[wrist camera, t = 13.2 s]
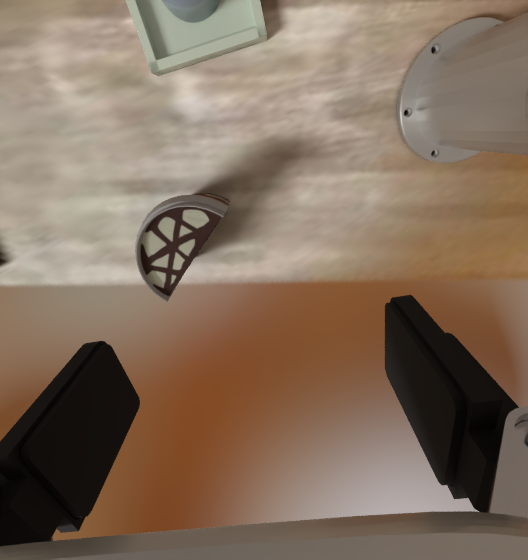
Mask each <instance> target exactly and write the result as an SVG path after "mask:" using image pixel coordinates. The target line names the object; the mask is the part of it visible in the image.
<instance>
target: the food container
mask: <svg viewBox="0 0 528 560" xmlns="http://www.w3.org/2000/svg"><path fill="white" fill-rule="evenodd" d="M229 203H230V201H228V200H226V199H225V198H223V197H221V196H217V195H213V194H209V193H208V194H196V195H183V196H177V197H174V198H170V199H168V200H166V201H164V202H162V203H160V204H159V205H157V206H156V207H155V208H154V209H153V210H152V211H151V212H150V213H149V214H148V215H147V217H146V218H145V220H144V221H143V223H142V226H141V228H140V230H139V233H138V235H137V240H136V250H135V252H136V260H137V265H138V268H139V272H140V274H141V276H142V278H143V280H144V281H145V282H146V284H147V285H148V287H149V288H150V289H151V290H152V291H153V292H154V293H155V294H156V295H157V296H159V297H160V298H161V299H163V300H164V301H166V302H167V301H168V300H169V298H170V296H171V295H172V293H173V291H174V289H175V288H176V286H177V284H178V283H179V281H180V279H181V278H182V276H183V274H184V273H185V271H186V270H187V269H188V267H189V266H190V264H191V262H192V261H193V259H194V258H195V256H196V255H197V254H198V251H199V250H200V249H201V247H202V246H203V244H204V243H205V241H206V240H207V239H208V237H209V236H210V234H211V232H212V231H213V229H214V228H215V227H216V225H217V223H218V222H219V220H220V218H221V217H224V215H225V214H226V212H227V210H228V208H229V206H228V205H229Z"/></svg>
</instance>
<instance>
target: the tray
mask: <svg viewBox="0 0 528 560" xmlns="http://www.w3.org/2000/svg"><path fill="white" fill-rule="evenodd" d="M126 2H127V5H128V8H129V11H130V13H131V16H132V19H133V22H134V25H135V27H136V30H137V33H138V36H139V39H140V42H141V44H142V47H143V50H144V53H145V56H146V58H147V61H148V64H149V67H150V70H151V72H152V73H153V74H155V75H157V76H160V75H163V74H166V73H169V72H172V71H175V70H178V69H181V68H184V67H187V66H190V65H193V64H196V63H199V62H202V61H205V60H208V59H211V58H215V57H218V56H221V55H224V54H227V53H230V52H233V51H236V50H239V49H242V48H245V47H248V46H251V45H254V44H257V43H260V42H263V41H267V32H266V27H265V22H264V17H263V12H262V7H261V2H260V0H220V2H219V4H218V6H217V8H216V10H215V11H214V12H213V14H212V15H211V16H210V17H208V18H207V19H205V20H203V21H201V22H197V23H189V22H185V21H183V20H180V19H179V18H177V17H176V16H174V15H173V14H172V13H171V12H170V11H169V10H168V8H167V7H166V6H165V5H164V3H163V2H162V1H161V0H126Z"/></svg>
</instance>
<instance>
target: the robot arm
mask: <svg viewBox="0 0 528 560" xmlns="http://www.w3.org/2000/svg"><path fill="white" fill-rule="evenodd" d="M431 48H433V50H434V51H433V53H432V52H431ZM405 110H406V111H407V113H406V115H404V111H405ZM397 121H398V126H399V130H400V133H401V135H402V138H403V140H404V142H405V143H406V144H407V146H408V147H409V149H411V150H412V151H413V152H414V153H415V154H416V155H418V156H420V157H422V158H423V159H425V160H429V161H433V162H439V163H453V162H458V161H462V160H466V159H468V158H470V157H473V156H475V155H477V154H479V153H480V152H482V151H487V152H497V153H507V154H517V155H527V156H528V12H526V13H524V14H522V15H519V16H517V17H515V18H513V19H511V20H508V21H506V22H505V21H502V20H499V19H496V18H491V17H477V18H472V19H467V20H464V21H462V22H460V23H457V24H455V25H453V26H451V27H449V28H447V29H446V30H444V31H442V32H441V33H440V34H438V35H437V36H436V37H434V38H433V39H432V40H431V41H429V43H428V44H427V45H426V46H425V47H424V48H423V49H422V50H421V51H420V52H419V53H418V55H417V56H416V58H415V59H414V61H413V62H412V64H411V65H410V67H409V69H408V71H407V73H406V75H405V77H404V79H403V82H402V85H401V88H400V91H399V97H398V103H397ZM432 151H433V154H432V155H431V153H432ZM385 370H386V374H387V377H388V379H389V381H390V383H391V385H392V387H393V389H394V391H395V393H396V395H397V398H398V400H399V402H400V404H401V406H402V408H403V410H404V412H405V414H406V416H407V418H408V420H409V422H410V424H411V426H412V428H413V430H414V433H415V435H416V437H417V438H418V441H419V443H420V445H421V447H422V449H423V451H424V453H425V455H426V457H427V459H428V461H429V464H430V465H431V468H432V470H433V472H434V474H435V476H436V478H437V479H438V481H439V483H440V484H441V485H447V486H448V488H449V490H450V491H451V493H452V495H453V498H454V499H461V498H469V500H470V502H471V503H472V505H473V507H474V508H475V509H476V510H478V511H479V512H421V513H403V514H387V515H386V514H385V515H368V516H352V517H340V518H326V519H313V520H300V521H287V522H275V523H261V524H249V525H237V526H223V527H212V528H200V529H187V530H175V531H163V532H151V533H139V534H127V535H116V536H106V537H105V536H104V537H93V538H82V539H70V540H59V541H53V538H52V536H53V534H54V532H55V530H56V528H57V529H58V530H59V531H60V532H73V531H79V529H80V527H81V525H82V523H83V521H84V519H85V517H86V516H88V515H89V514H90V512H91V511H92V509H93V507H94V504H95V502H96V500H97V498H98V496H99V494H100V491H101V489H102V487H103V485H104V483H105V480H106V478H107V476H108V474H109V472H110V470H111V467H112V465H113V463H114V461H115V459H116V457H117V455H118V452H119V450H120V448H121V445H122V444H123V441H124V439H125V437H126V435H127V433H128V431H129V429H130V426H131V424H132V422H133V420H134V418H135V416H136V413H137V411H138V409H139V405H140V400H139V397H138V395H137V393H136V391H135V389H134V387H133V385H132V384H131V382H130V380H129V378H128V376H127V375H126V372H125V371H124V369H123V367H122V365H121V363H120V361H119V360H118V358H117V356H116V354H115V352H114V350H113V348H112V347H111V346H110V345H108V344H107V343H106V342H104V341H98V342H91V343H86V344H84V345H83V346H82V347H81V348H80V349H79V350H78V351H77V353H76V354H75V355H74V356H73V357H72V359H71V360H70V361H69V362H68V363H67V364H66V365H65V367H64V368H63V369H62V370H61V371H60V372H59V374H58V375H57V376H56V377H55V378H54V379H53V381H52V382H51V383H50V384H49V385H48V387H47V388H46V389H45V390H44V391H43V392H42V394H41V395H40V396H39V397H38V398H37V399H36V400H35V402H34V403H33V404H32V405H31V406H30V407H29V409H28V410H27V411H26V412H25V413H24V414H23V416H22V417H21V418H20V419H19V420H18V422H17V423H16V424H15V425H14V426H13V427H12V428H11V430H10V431H9V432H8V433H7V434H6V436H5V437H4V438H3V439H2V440H1V441H0V560H528V407H527V406H526V407H521V408H519V407H518V406H517V405H516V403H515V402H514V401H513V400H512V399H511V398H510V397H509V396H508V395H507V394H506V392H505V391H504V390H503V389H502V388H501V387H500V386H499V385H498V384H497V383H496V381H495V380H494V379H493V378H492V377H491V376H490V375H489V374H488V373H487V371H486V370H485V369H484V368H483V367H482V366H481V365H480V364H479V363H478V362H477V360H476V359H475V358H474V357H473V356H472V355H471V354H470V353H469V352H468V351H467V349H466V348H465V347H464V346H463V345H462V344H461V343H460V342H459V341H458V339H457V338H455V336H453V335H452V334H450V333H444V331H443V330H442V329H441V328H440V327H439V326H438V325H437V323H436V322H435V321H434V320H433V319H432V318H431V317H430V316H429V314H428V313H427V312H426V311H425V310H424V309H423V307H422V306H421V305H420V304H419V303H418V302H417V301H416V299H415V298H414V297H413V296H411V295H407V296H400V297H393V298H391V301H390V303H386V305H385Z"/></svg>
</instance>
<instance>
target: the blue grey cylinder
mask: <svg viewBox="0 0 528 560" xmlns="http://www.w3.org/2000/svg"><path fill="white" fill-rule="evenodd" d="M161 1H162V2H163V3H164V5H165V6H166V7H167V8H168V10H169V11H170V12H171V13H172V14H173V15H174V16H176V17H177V18H179V19H180V20H183V21H185V22H189V23H197V22H201V21H203V20H205V19H207V18H208V17H210V16H211V15H212V14H213V12H214V11H215V10H216V8H217V6H218V4H219V2H220V0H161Z"/></svg>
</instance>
